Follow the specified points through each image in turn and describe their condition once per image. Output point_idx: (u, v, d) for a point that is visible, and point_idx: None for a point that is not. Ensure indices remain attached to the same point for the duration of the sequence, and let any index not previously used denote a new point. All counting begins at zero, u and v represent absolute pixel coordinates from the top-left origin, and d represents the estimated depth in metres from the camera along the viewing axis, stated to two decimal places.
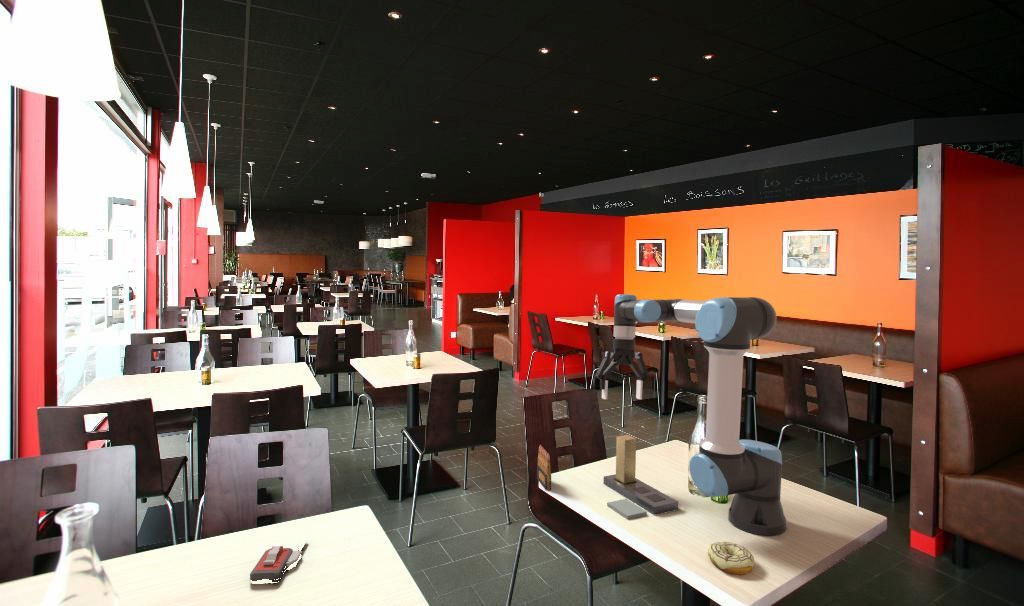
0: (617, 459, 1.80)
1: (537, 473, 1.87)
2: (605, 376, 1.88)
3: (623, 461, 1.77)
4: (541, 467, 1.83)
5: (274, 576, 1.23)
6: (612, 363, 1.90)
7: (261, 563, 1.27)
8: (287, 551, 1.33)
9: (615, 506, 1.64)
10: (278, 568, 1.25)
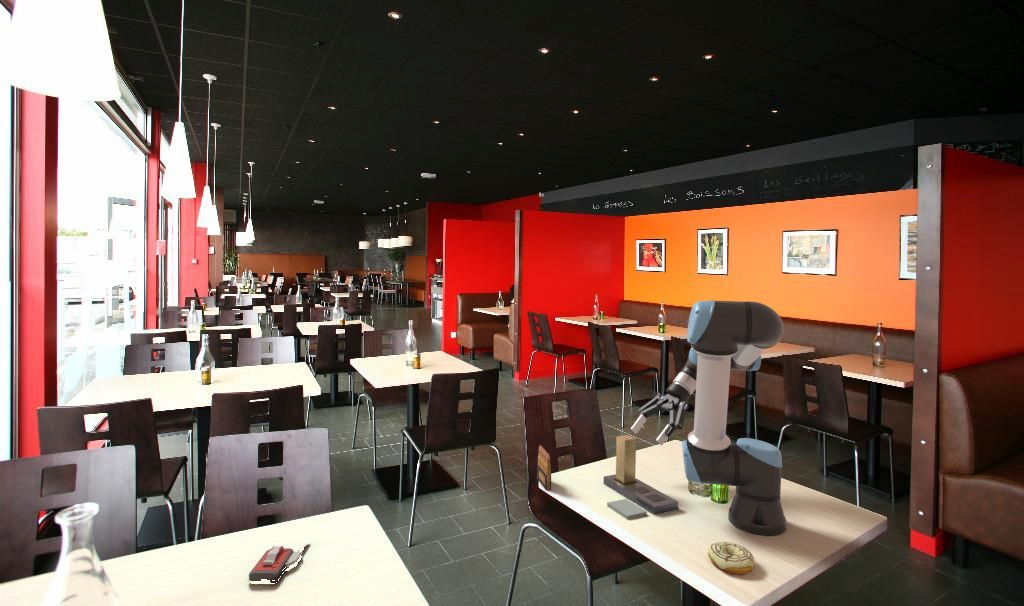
0: (617, 459, 1.80)
1: (537, 473, 1.87)
2: (643, 411, 1.92)
3: (623, 461, 1.77)
4: (541, 467, 1.83)
5: (272, 576, 1.23)
6: None
7: (261, 563, 1.27)
8: (288, 551, 1.33)
9: (615, 506, 1.64)
10: (277, 569, 1.25)
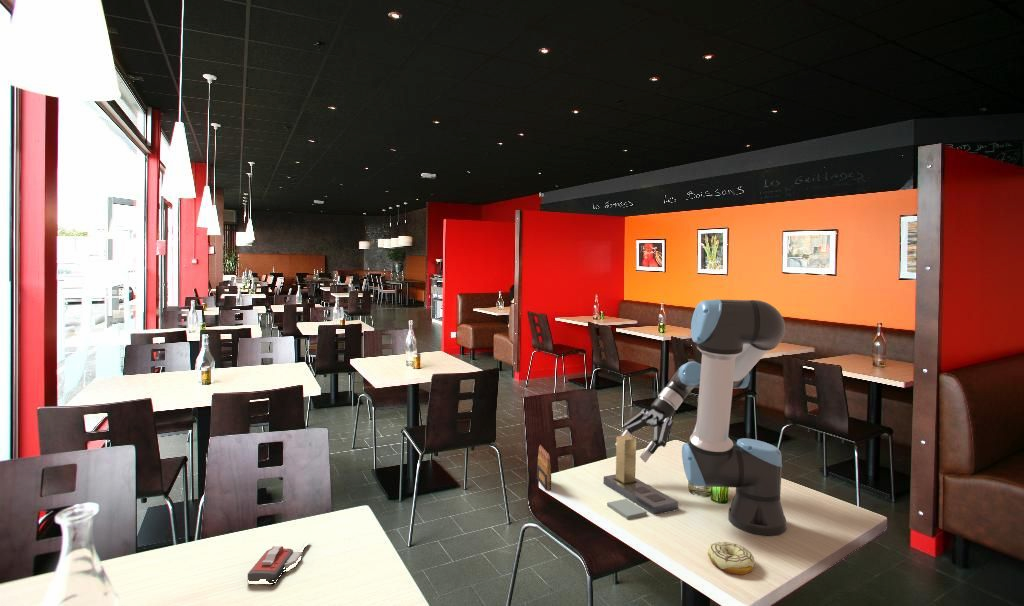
0: (617, 459, 1.80)
1: (537, 473, 1.87)
2: (628, 426, 1.90)
3: (623, 461, 1.77)
4: (541, 467, 1.83)
5: (271, 576, 1.23)
6: None
7: (260, 563, 1.27)
8: (287, 552, 1.33)
9: (615, 506, 1.64)
10: (276, 569, 1.25)
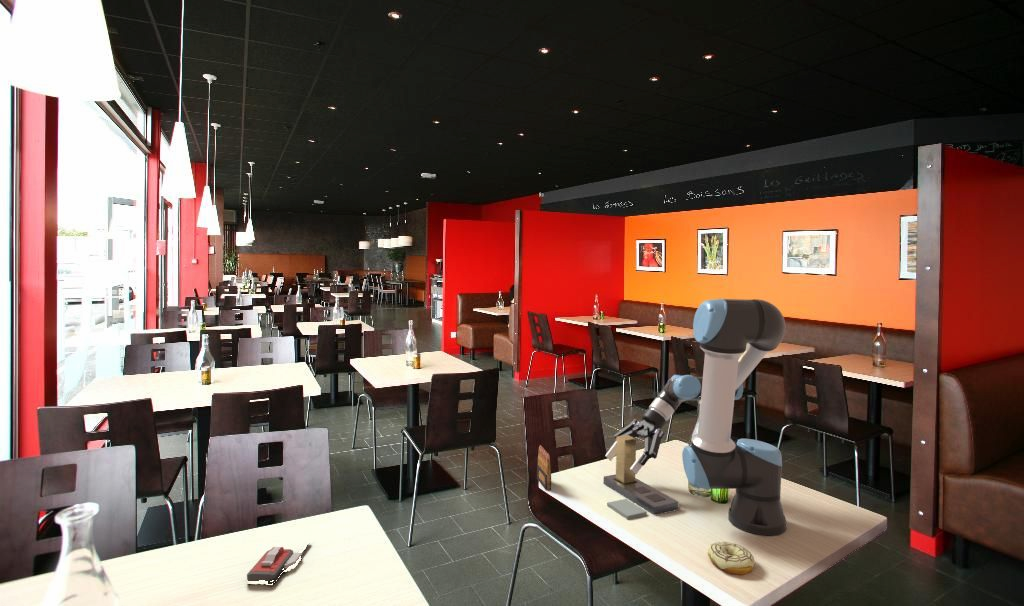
0: (617, 459, 1.80)
1: (537, 473, 1.87)
2: None
3: (623, 461, 1.77)
4: (541, 467, 1.83)
5: (270, 577, 1.23)
6: None
7: (259, 564, 1.27)
8: (287, 552, 1.32)
9: (615, 506, 1.64)
10: (275, 570, 1.25)
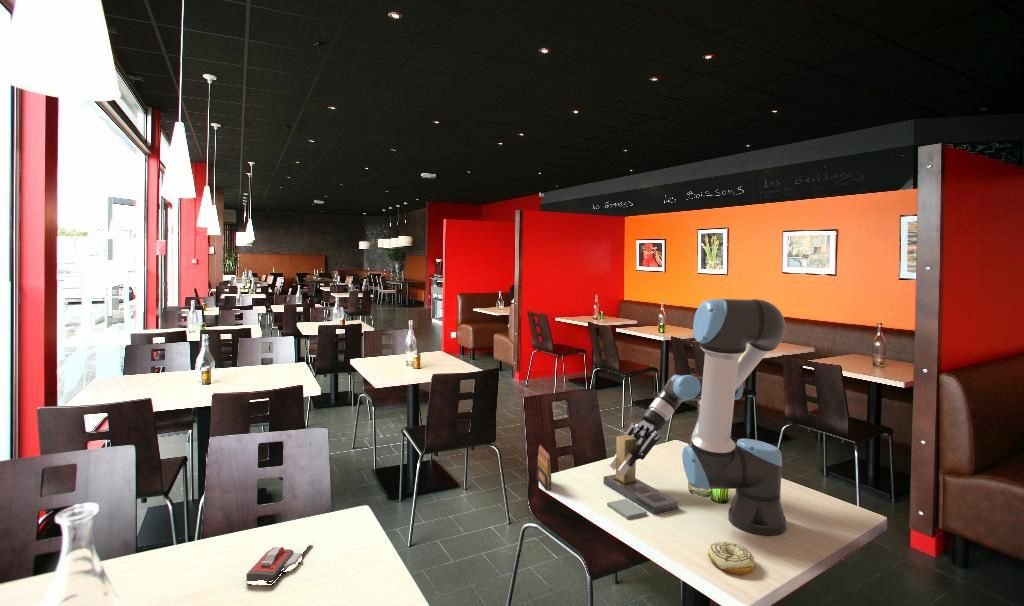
0: (617, 459, 1.80)
1: (537, 473, 1.87)
2: None
3: (623, 461, 1.77)
4: (541, 467, 1.83)
5: (269, 577, 1.23)
6: None
7: (259, 563, 1.27)
8: (288, 553, 1.32)
9: (615, 506, 1.64)
10: (274, 570, 1.25)
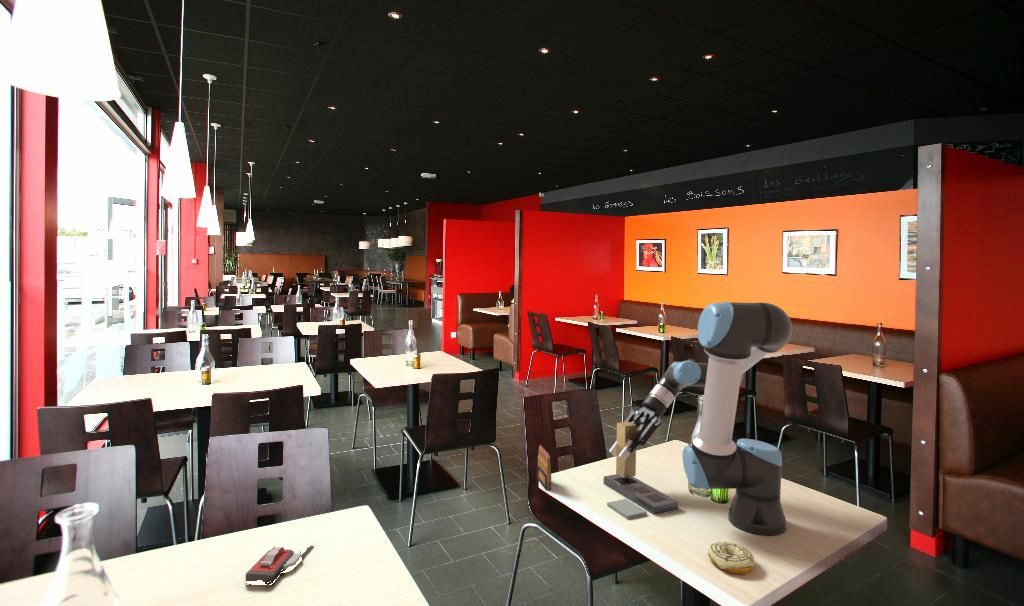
0: (617, 446, 1.80)
1: (537, 473, 1.87)
2: None
3: (623, 447, 1.77)
4: (541, 467, 1.83)
5: (268, 578, 1.23)
6: None
7: (259, 563, 1.27)
8: (288, 553, 1.32)
9: (615, 506, 1.64)
10: (273, 571, 1.24)
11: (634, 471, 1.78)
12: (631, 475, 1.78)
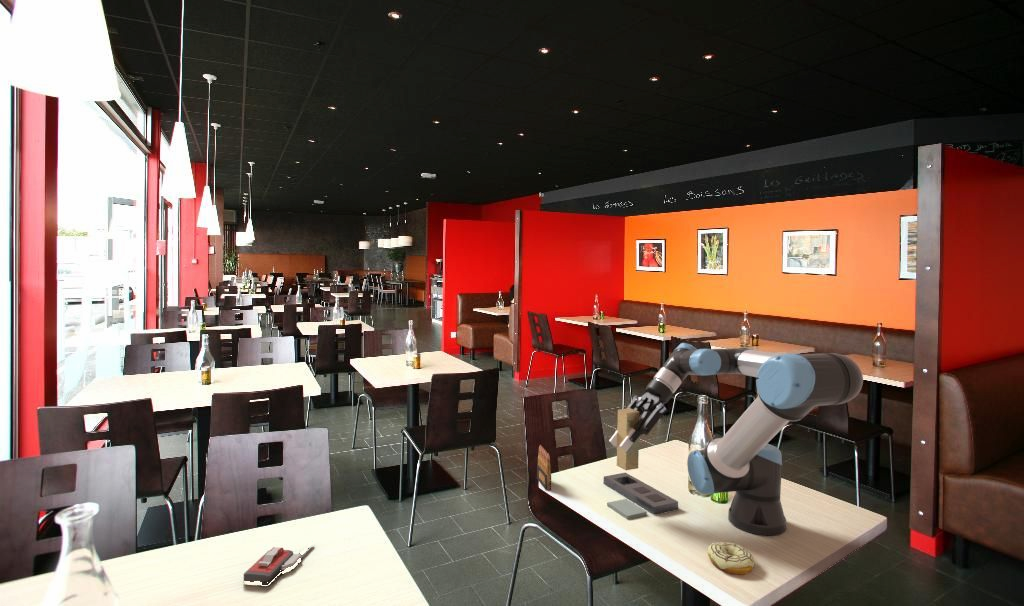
0: (618, 435, 1.63)
1: (537, 473, 1.87)
2: None
3: (625, 436, 1.60)
4: (541, 467, 1.83)
5: (265, 578, 1.22)
6: None
7: (257, 564, 1.27)
8: (287, 553, 1.32)
9: (615, 506, 1.64)
10: (271, 571, 1.24)
11: (636, 463, 1.61)
12: (633, 467, 1.61)
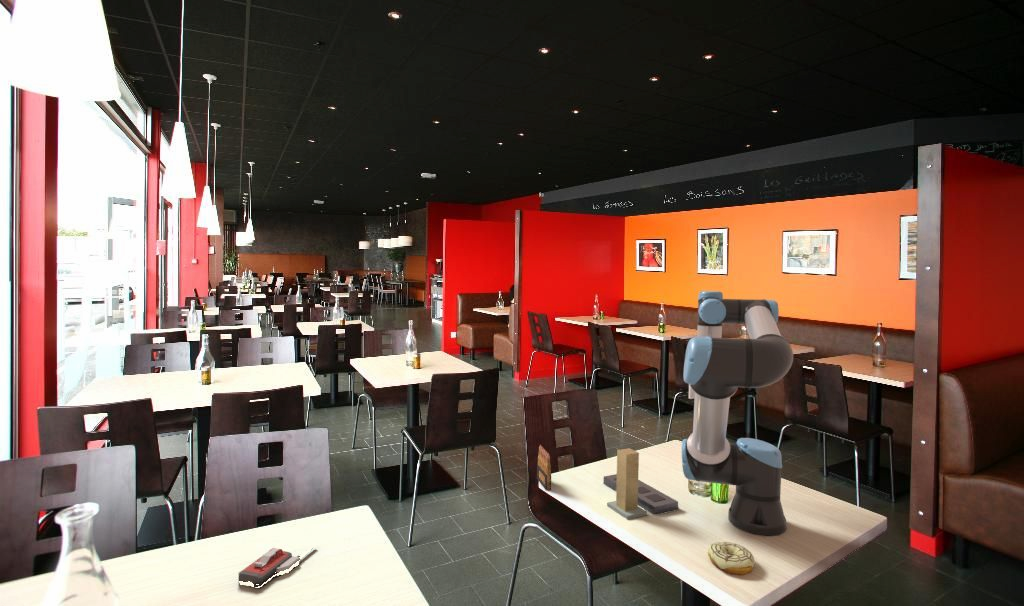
0: (618, 475, 1.63)
1: (537, 473, 1.87)
2: None
3: (624, 478, 1.60)
4: (541, 467, 1.83)
5: (257, 580, 1.22)
6: None
7: (254, 564, 1.27)
8: (285, 555, 1.31)
9: (615, 506, 1.64)
10: (264, 573, 1.23)
11: (636, 504, 1.62)
12: (633, 508, 1.61)
